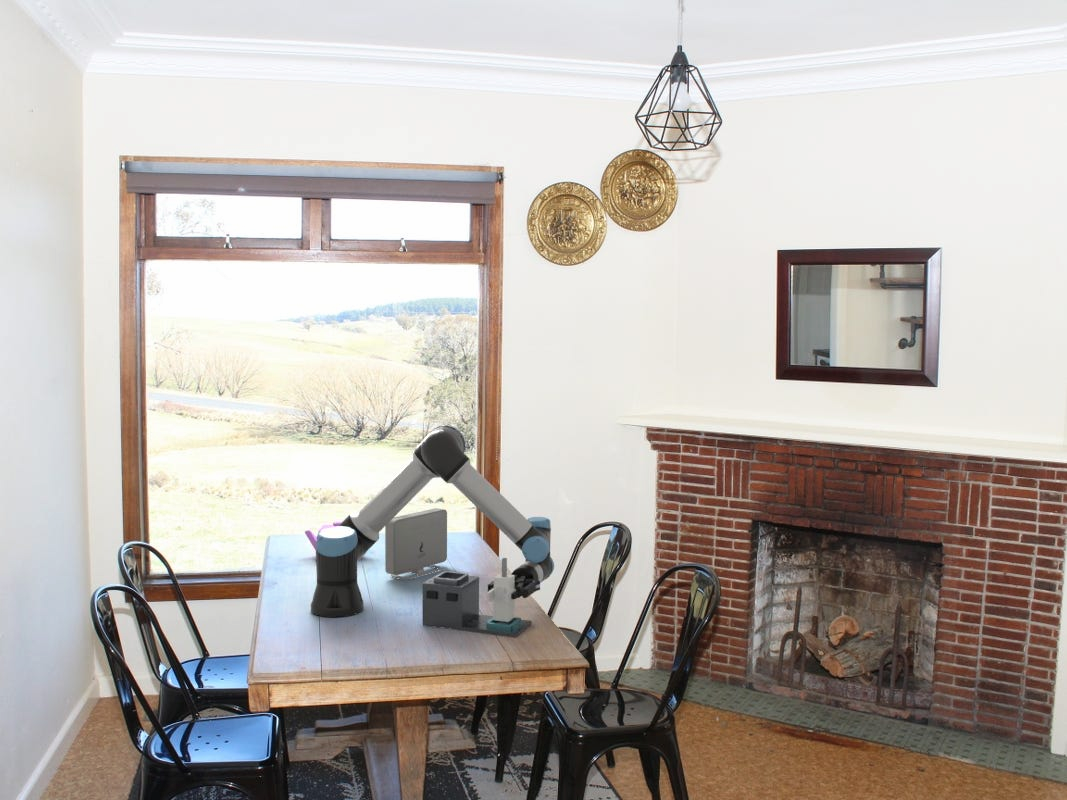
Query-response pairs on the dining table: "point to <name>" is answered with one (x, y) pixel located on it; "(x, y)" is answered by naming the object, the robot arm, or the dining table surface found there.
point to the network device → (416, 542)
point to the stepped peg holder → (462, 606)
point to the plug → (501, 587)
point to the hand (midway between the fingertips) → (496, 598)
